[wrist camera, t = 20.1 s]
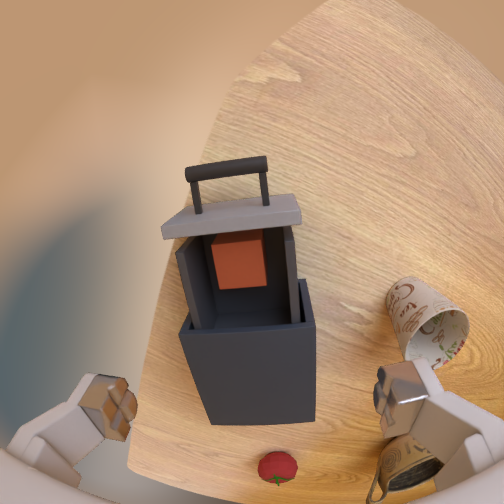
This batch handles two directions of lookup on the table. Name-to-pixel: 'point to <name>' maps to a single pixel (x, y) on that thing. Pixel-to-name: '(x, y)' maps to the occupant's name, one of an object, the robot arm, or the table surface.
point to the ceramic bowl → (403, 467)
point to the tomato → (277, 468)
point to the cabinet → (256, 369)
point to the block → (240, 259)
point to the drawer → (229, 220)
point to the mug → (426, 322)
